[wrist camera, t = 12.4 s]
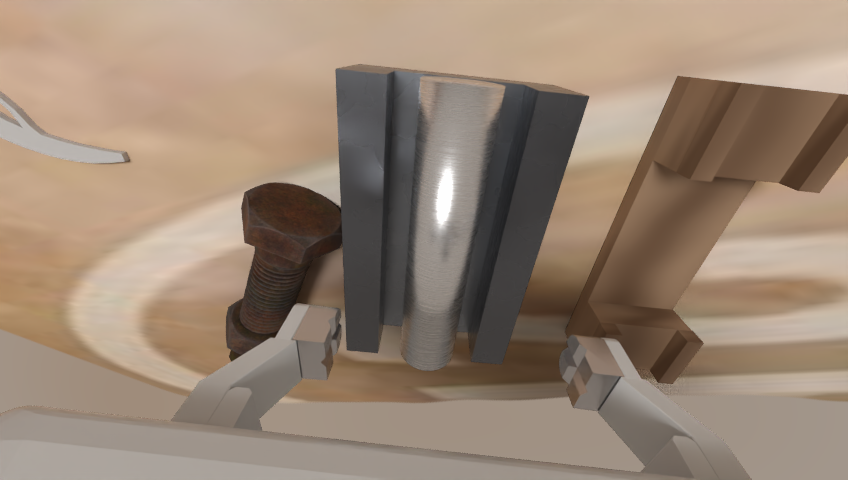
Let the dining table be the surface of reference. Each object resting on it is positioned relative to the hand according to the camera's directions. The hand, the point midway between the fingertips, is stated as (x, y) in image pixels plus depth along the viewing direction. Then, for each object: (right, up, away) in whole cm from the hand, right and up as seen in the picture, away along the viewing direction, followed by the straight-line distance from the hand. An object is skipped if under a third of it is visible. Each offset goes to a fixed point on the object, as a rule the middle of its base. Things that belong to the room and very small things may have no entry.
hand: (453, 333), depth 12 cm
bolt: (-11, +1, +12) cm, 17 cm away
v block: (0, +5, +9) cm, 10 cm away
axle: (0, +3, +6) cm, 7 cm away
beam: (+14, +4, +9) cm, 17 cm away
